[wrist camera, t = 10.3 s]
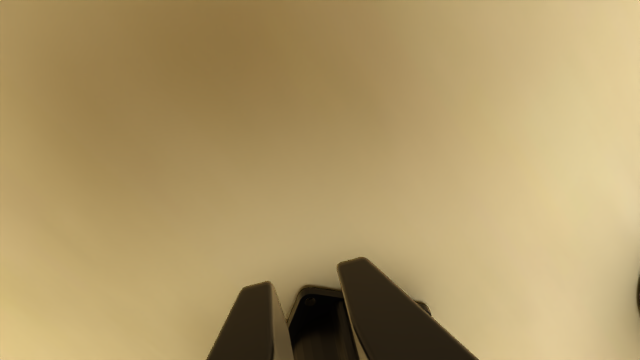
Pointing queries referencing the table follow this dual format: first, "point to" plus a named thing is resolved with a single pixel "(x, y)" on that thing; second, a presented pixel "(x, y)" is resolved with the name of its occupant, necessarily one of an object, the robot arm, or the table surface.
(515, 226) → the table surface
